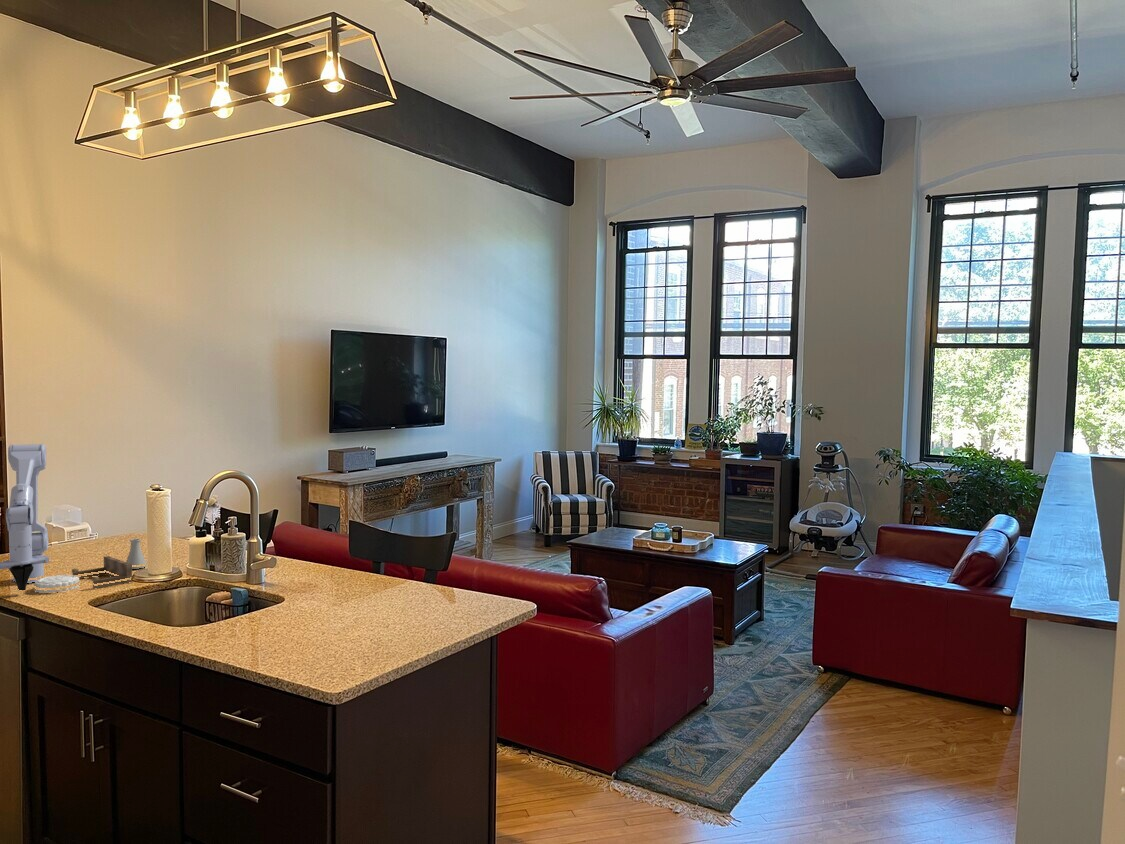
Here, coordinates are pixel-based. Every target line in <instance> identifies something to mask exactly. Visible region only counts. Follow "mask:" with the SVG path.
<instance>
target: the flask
mask: <svg viewBox="0 0 1125 844" xmlns="http://www.w3.org/2000/svg"><path fill="white" fill-rule="evenodd" d="M141 541H142V539H141V538H131V539H129V543H130V548H129V549H130V551H129V553H128V556H127V559H126V561H125V562H127V563H130V564H132V565H140V564H145V563H147V560H146V559H145V556H144V554H143V551H142V548H141ZM147 565H148V563H147V564H146V565H145V566H141V567H132V569H139V568H143V567H146V566H147ZM147 567H148V566H147ZM147 567H146V568H147ZM143 569H144V568H143ZM139 570H140V569H139Z"/></svg>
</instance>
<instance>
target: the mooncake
mask: <svg viewBox="0 0 1125 844" xmlns="http://www.w3.org/2000/svg"><path fill="white" fill-rule="evenodd" d="M44 577H45V576H44ZM79 581H80V580H79V577H77V576H75V575H73V574H72V575H70V574H58V575H52V576H51V575H50V576H46V577H45V578H41V579H39V580H37V581H35V583H33V587H34V586H36V587H39V588H54V587H62V586H68V585H73V584H76V583H78V582H79ZM79 585H80V586H81V583H79ZM79 585H77V586H73V587H71V588H67V589H60V590H47V591H44V590H36V589H34V588H33V589H34V590H33V591H36V592H39V593H49V592H50V593H53V592H61V591H67V590H71V589H75V588H77V587H79V588H80V586H79ZM77 589H78V588H77ZM75 590H76V589H75ZM36 592H35V593H36ZM39 593H38V594H39Z"/></svg>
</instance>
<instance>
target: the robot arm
mask: <svg viewBox="0 0 1125 844" xmlns="http://www.w3.org/2000/svg"><path fill="white" fill-rule="evenodd" d="M7 461H8V463H9V464H10V468H11V469H12V471H14V472H15V478H16V480H15V481H16V483H15V485H14V486H12V488H11V491H10V496H9V497H10V498H9V506H8V507H9V508H8V507H7V508H6V511H5V512H6V513H5V521H6V525H7V527H6V528H7V532H8V547H9V548H8V549H9V550H8V551H9V559H8V560H4V561H3V560H2V561H0V570H5V569H8V570H9V572H10V573H11V574H12V576H13V578H11V579H10V580H11V581H12V580H13V581H12V582H14V581H15V582H14V583H16V586H17V590H18V589H19V590H25V591H26V589H27V585H28V584H27V583H29V584H33V583H32V582H35V581H37V580H39V579H37V580H30V581H28V579H29V578H36V577H40V576H43V575H45V573H44V571H45V569H44V567H45V566H44V565H45V564H49V563H50V556H49V555H44V552H46V551H47V550H48V548H49V533H48V532H49V531H48V529H47V526H45V525H43V524H42V523H40V522H39V520H38V513H39V512H38V510H39V509H38V507H39V505H38V502H39V500H38V499H39V498H38V496H39V494H38V491H39V490H38V489H39V487H38V479H39V475H40V472H42V471H44V470H45V469H46V467H47V447H46V444H45V443H40V444H36V443H35V444H33V443H32V444H10V445H9V446H8V449H7ZM43 578H45V576H44V577H43ZM19 590H18V591H19Z"/></svg>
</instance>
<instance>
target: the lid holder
mask: <svg viewBox="0 0 1125 844" xmlns="http://www.w3.org/2000/svg"><path fill="white" fill-rule="evenodd" d="M104 570H106V571H109V572H111V573H114V574H117V575H119V576H114V575H111V574H109V573H106V572H105V573H99V574H93V575H87V576H81V577H79V578H84V577H92V576H98V575H105V574H106V575H109V576H111V577H109V576H108V577H105V578H100V576H99V577H92V578H91V581H92V589H93V588H99V589H102V588H101V587H104V588H108V587H107V586H110V587H113V586H112V585H116V586H119V585H118V584H121V585H124V584H123V583H127V584H130V583H129V582H132V583H133V579H132V580H127V581H121V582H115V583H109V584H103V585H98V586H94V585H93V583H94V584H97V583H103V582H109V581H115V580H120V579H125V578H130V577H132V578H133V570H132V564H130V563H127V562H126V561H124V560H121V559H118V558H115V557H113V556H109V555H108V556H107V555H106V556H103V566H102V567H97V568H91V569H85V570H79V568H72V569H71V573H72V575H78V574H84V573H91V572H98V571H104ZM106 575H105V576H106Z"/></svg>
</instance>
